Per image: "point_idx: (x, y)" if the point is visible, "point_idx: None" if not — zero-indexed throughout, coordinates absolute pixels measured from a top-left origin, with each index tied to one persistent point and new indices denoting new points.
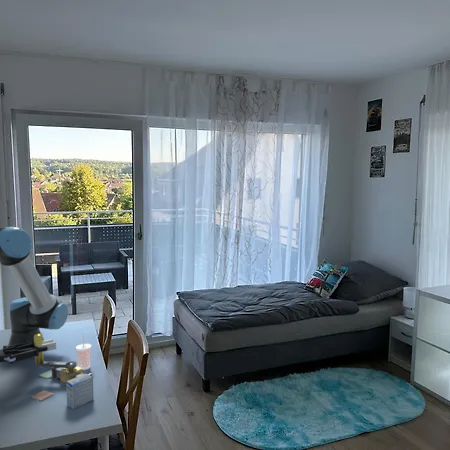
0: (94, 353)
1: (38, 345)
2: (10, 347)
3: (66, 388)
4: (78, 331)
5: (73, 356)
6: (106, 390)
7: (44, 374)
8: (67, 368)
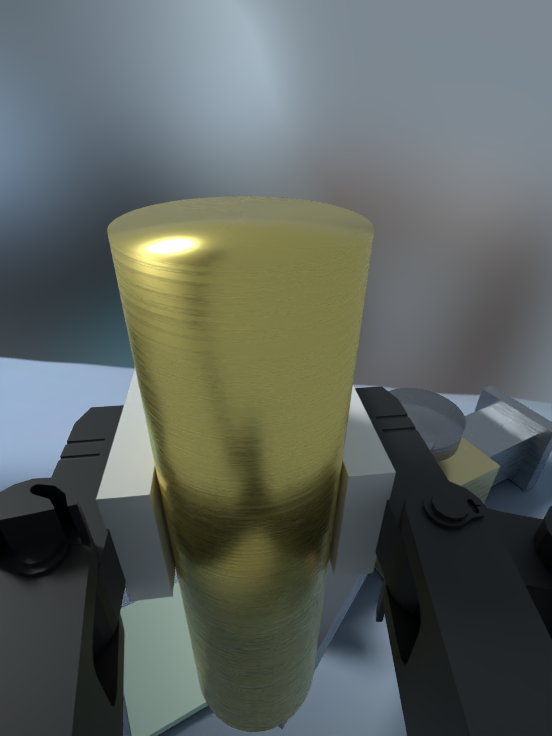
0: (86, 374)
1: (348, 460)
2: None
3: None
4: None
5: (13, 447)
6: (540, 409)
7: (162, 684)
8: (454, 453)
